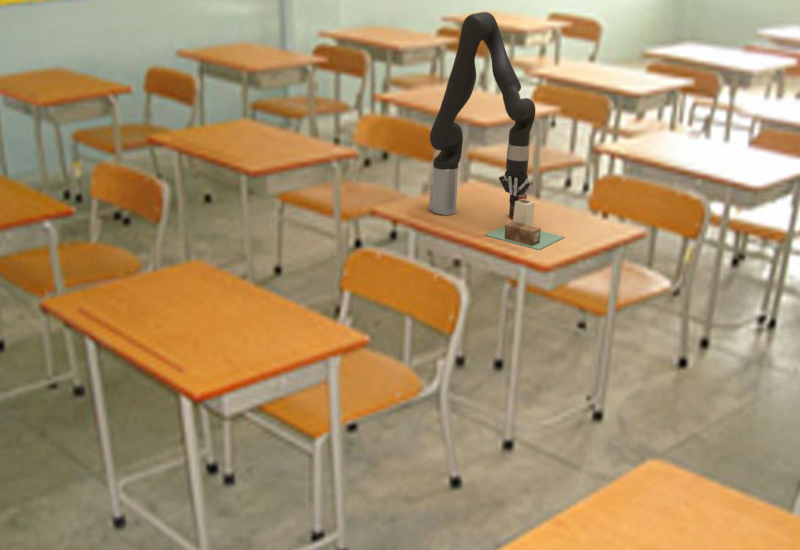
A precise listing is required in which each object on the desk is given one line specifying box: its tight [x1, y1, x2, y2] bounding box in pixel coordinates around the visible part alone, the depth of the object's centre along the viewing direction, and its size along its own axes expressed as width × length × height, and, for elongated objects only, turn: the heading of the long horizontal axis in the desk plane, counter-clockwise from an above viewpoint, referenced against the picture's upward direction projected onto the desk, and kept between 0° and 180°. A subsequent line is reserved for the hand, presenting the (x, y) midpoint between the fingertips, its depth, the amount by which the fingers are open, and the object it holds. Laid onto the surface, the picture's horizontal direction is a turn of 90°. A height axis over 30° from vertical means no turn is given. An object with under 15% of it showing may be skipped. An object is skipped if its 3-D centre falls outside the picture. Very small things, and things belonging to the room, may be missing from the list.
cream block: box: [512, 199, 536, 226], centre depth 343 cm, size 5×5×11 cm
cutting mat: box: [484, 225, 565, 251], centre depth 341 cm, size 22×17×1 cm
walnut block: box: [504, 221, 542, 246], centre depth 336 cm, size 5×5×11 cm
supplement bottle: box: [508, 186, 528, 220], centre depth 360 cm, size 6×6×11 cm
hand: (513, 205), depth 344 cm, fingers closed
